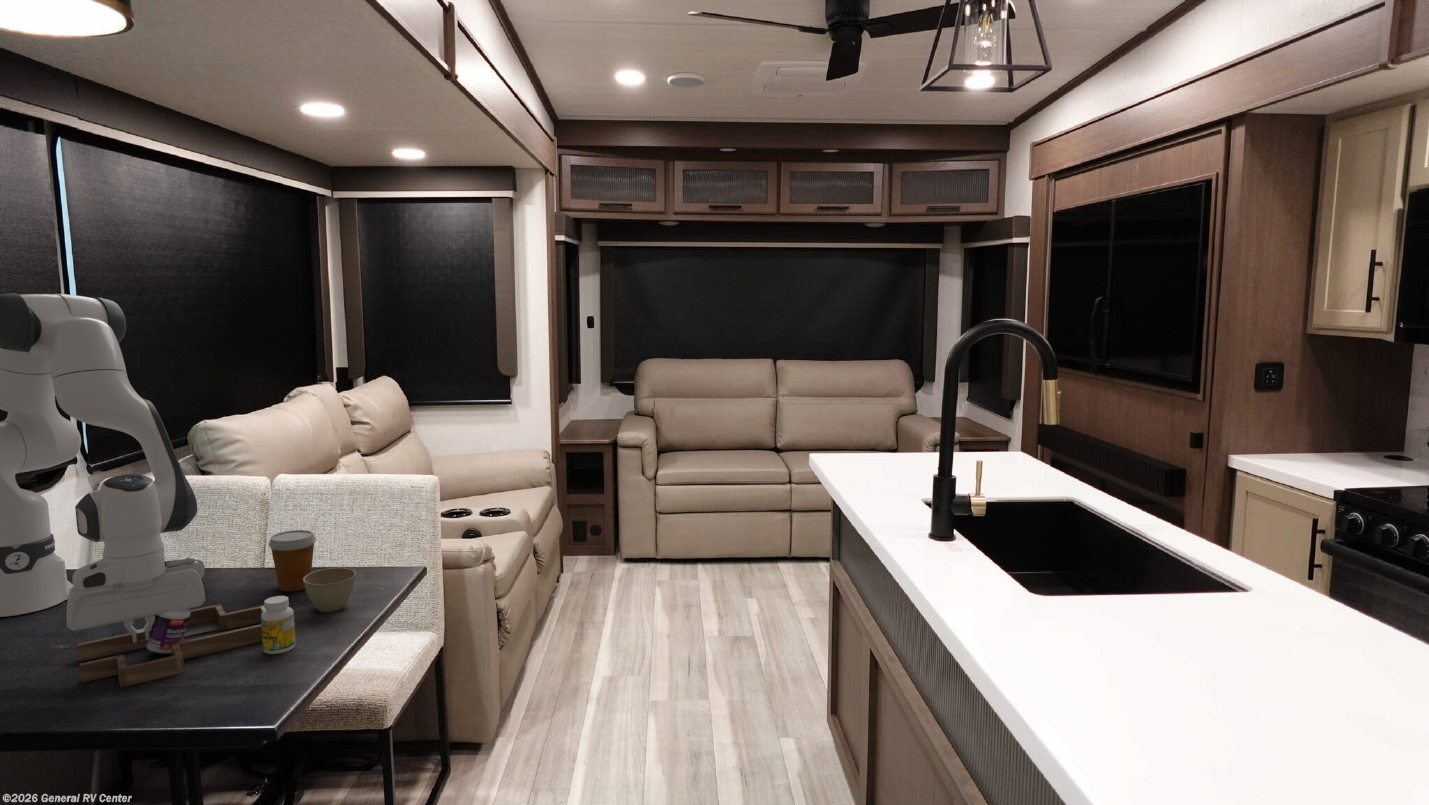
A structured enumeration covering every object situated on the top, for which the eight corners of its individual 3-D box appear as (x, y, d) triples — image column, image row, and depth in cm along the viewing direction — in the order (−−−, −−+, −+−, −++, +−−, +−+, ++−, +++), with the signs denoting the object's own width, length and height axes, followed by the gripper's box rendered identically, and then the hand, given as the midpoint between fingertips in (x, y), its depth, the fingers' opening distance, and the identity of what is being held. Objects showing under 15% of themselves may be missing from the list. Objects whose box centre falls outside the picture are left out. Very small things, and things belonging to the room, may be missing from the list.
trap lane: (77, 648, 148) (76, 632, 148) (259, 610, 167) (259, 596, 167) (82, 696, 131) (81, 679, 130) (285, 648, 150) (285, 632, 150)
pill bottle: (163, 656, 144) (178, 603, 144) (138, 647, 145) (153, 595, 145) (187, 649, 149) (201, 598, 150) (163, 641, 150) (177, 590, 151)
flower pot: (293, 612, 167) (292, 579, 166) (332, 596, 176) (331, 565, 175) (329, 620, 163) (327, 586, 162) (367, 603, 172) (366, 571, 171)
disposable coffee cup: (304, 594, 176) (302, 542, 175) (261, 593, 176) (259, 541, 175) (326, 579, 186) (323, 529, 184) (285, 578, 186) (282, 528, 184)
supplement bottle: (302, 645, 152) (299, 596, 150) (279, 656, 146) (276, 606, 145) (279, 640, 153) (276, 592, 152) (255, 652, 148) (253, 602, 147)
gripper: (201, 551, 152) (206, 621, 153) (62, 573, 139) (69, 648, 141) (205, 559, 147) (210, 631, 148) (62, 583, 134) (69, 661, 136)
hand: (141, 640), depth 144 cm, fingers closed
